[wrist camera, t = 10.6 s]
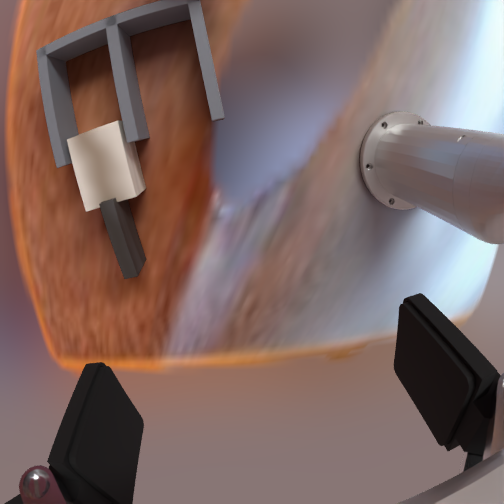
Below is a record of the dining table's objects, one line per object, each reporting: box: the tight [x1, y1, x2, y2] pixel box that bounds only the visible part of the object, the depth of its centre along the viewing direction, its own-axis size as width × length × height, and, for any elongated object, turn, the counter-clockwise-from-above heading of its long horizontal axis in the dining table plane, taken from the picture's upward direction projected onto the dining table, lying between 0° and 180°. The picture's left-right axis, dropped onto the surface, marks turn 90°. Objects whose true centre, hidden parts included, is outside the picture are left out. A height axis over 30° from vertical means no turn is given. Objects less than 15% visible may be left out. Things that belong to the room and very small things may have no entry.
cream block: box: [67, 121, 146, 279], centre depth 31 cm, size 6×16×6 cm, turn 11°
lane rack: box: [37, 0, 225, 168], centre depth 27 cm, size 18×14×5 cm
